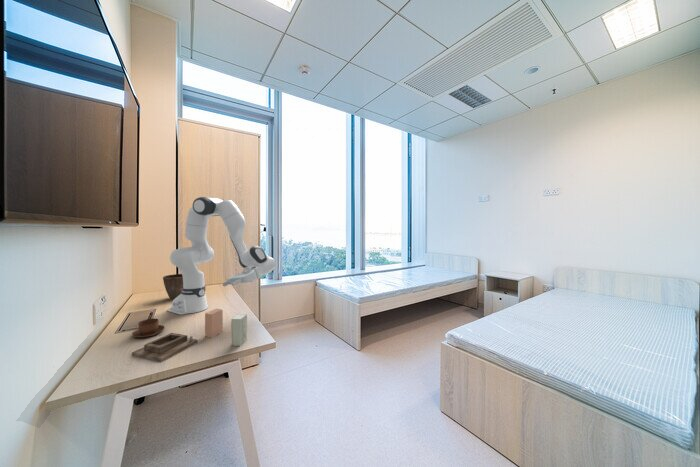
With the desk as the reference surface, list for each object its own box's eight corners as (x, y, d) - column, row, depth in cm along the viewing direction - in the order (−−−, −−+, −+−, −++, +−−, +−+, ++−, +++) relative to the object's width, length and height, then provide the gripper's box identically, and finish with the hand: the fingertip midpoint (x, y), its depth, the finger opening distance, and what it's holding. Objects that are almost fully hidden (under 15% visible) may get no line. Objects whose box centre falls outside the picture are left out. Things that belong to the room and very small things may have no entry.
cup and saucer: (138, 330, 120) (138, 318, 120) (167, 327, 124) (167, 315, 124) (127, 341, 109) (126, 328, 109) (159, 337, 113) (159, 324, 113)
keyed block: (205, 336, 115) (204, 313, 114) (216, 330, 121) (215, 308, 121) (212, 337, 114) (211, 314, 113) (222, 331, 120) (222, 309, 120)
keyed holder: (131, 355, 98) (131, 346, 97) (170, 337, 113) (170, 329, 113) (161, 361, 93) (161, 352, 93) (197, 342, 109) (197, 334, 109)
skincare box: (238, 339, 112) (237, 313, 111) (247, 339, 112) (247, 313, 111) (230, 346, 106) (230, 318, 105) (240, 346, 105) (240, 318, 105)
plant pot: (163, 297, 173) (162, 275, 173) (188, 293, 182) (188, 272, 182) (163, 302, 161) (162, 279, 161) (189, 298, 170) (189, 276, 170)
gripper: (238, 270, 142) (216, 280, 131) (258, 266, 130) (235, 277, 119) (242, 280, 143) (220, 291, 132) (263, 277, 131) (240, 289, 120)
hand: (227, 284), depth 125 cm, fingers open, 8 cm apart
